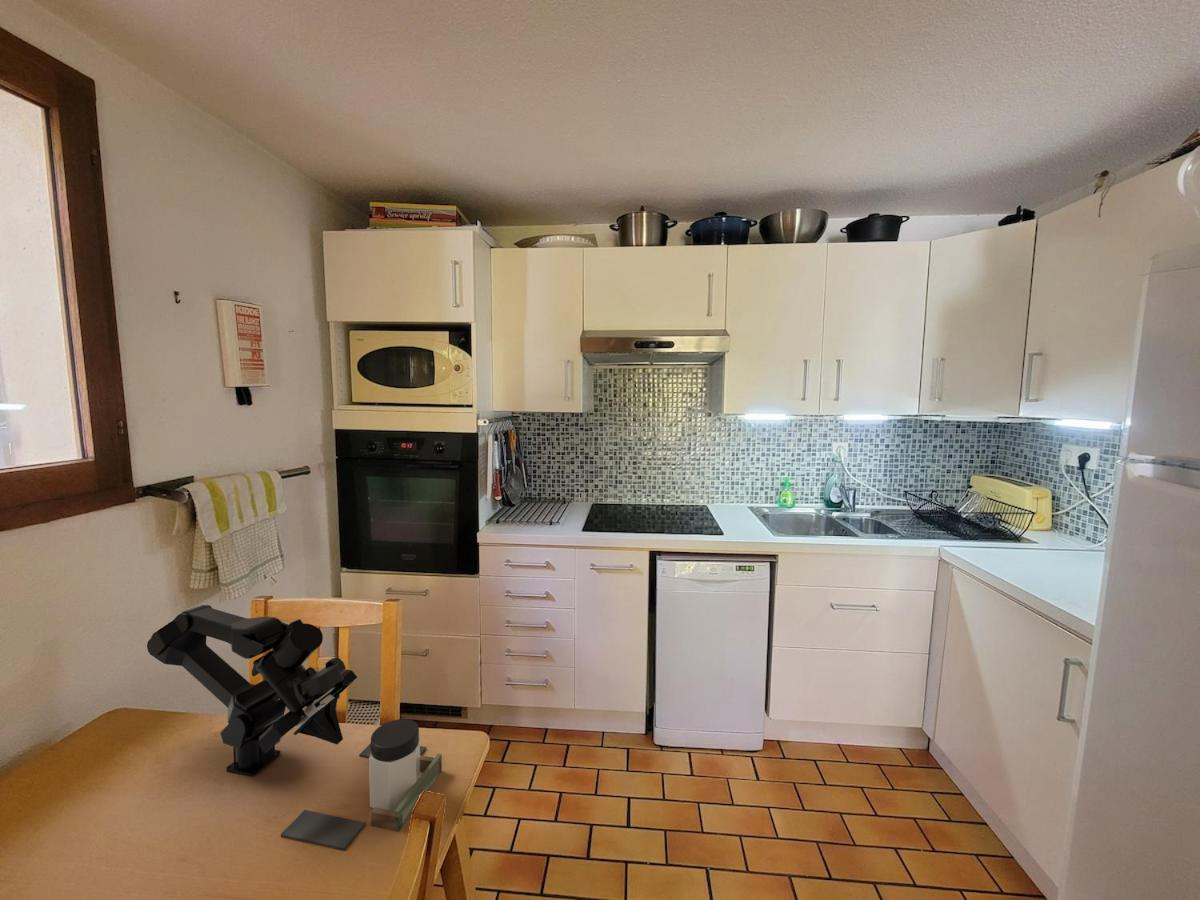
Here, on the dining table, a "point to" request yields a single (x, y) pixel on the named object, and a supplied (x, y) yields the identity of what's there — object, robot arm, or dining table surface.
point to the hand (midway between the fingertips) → (340, 741)
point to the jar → (393, 763)
